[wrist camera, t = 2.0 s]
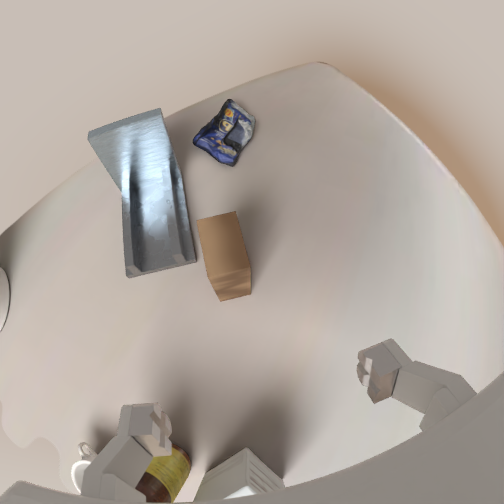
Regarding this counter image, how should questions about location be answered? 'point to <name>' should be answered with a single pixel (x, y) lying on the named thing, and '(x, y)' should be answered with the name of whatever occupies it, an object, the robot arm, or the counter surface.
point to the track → (147, 192)
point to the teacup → (81, 465)
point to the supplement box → (238, 478)
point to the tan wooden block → (225, 256)
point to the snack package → (226, 133)
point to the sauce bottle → (165, 476)
